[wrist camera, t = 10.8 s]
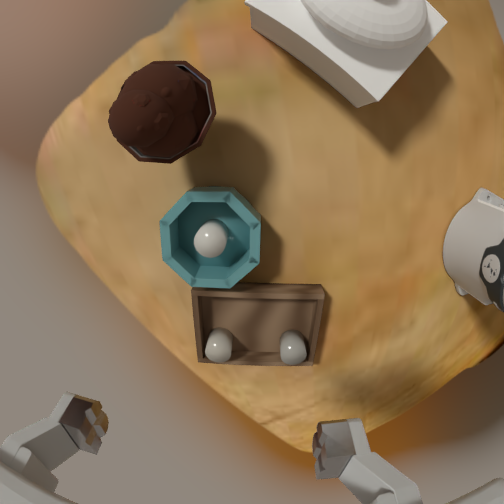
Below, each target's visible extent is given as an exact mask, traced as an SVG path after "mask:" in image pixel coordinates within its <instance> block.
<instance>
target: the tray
mask: <svg viewBox="0 0 504 504" xmlns="http://www.w3.org/2000/svg"><path fill="white" fill-rule="evenodd" d="M191 294H192V306H193V317H194V328H195V338H196V347H197V356H198V362H202V363H216V364H233V365H259V366H312V365H313V360H314V355H315V350H316V344H317V339H318V333H319V328H320V322H321V316H322V309H323V303H324V296H325V293H324V291H323V289H322V286H321V284H276V283H242V282H237V283H236V284H235V285H234V286H232V287H231V288H209V287H192V290H191ZM218 327H222V328H226V329H228V330H229V331H230V332H231V333H232V335H233V343H232V351H231V357H230V358H229V360H227V361H225V362H222V363H218V362H214V361H211V360H210V359H209V358H208V357H207V356H206V354H205V349H206V345H207V341H208V337H209V334H210V332H211V330H213V329H214V328H218ZM292 329H293V330H298V331H300V332H301V333H302V334H303V338H304V343H305V348H306V353H307V355H306V358H305V359H304V361H302V362H301V363H299V364H295V365H289V364H286V363H284V362H283V361H282V359H281V354H280V342H279V338H280V336H281V334H282V333H283V332H285V331H287V330H292Z"/></svg>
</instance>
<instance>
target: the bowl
mask: <svg viewBox="0 0 504 504" xmlns="http://www.w3.org/2000/svg"><path fill="white" fill-rule="evenodd" d="M210 219H218V220H221V221H222V222H224V223H225V224H226V226H227V227H228V230H229V236H228V240H227V243H226V246H225V249H224V251H223V252H222V253H221V254H220V255H219V256H217V257H213V258H208V257H204V256H202V255H201V254H200V253H199V252H198V251H197V250H196V248H195V245H194V238H195V235H196V233H197V232H198V231H199V229H200V228H201V226H202V225H203V224H204V223H205V222H206V221H207V220H210ZM260 229H261V215H260V214H259V213H258V212H257V211H256V210H255V209H254V208H253V206H252V205H251V204H250V203H249V201H248V200H247V199H246V198H245V197H243V196H242V195H241V194H240V193H239V192H238V191H237V190H236V189H235V188H234V187H221V186H208V187H193V188H192V189H190V190H189V191H187V192H186V193H185V194H184V195H183V196H182V197H181V198H180V199H179V201H178V202H177V203H176V204H175V205H174V206H173V207H172V208H171V209H170V210H169V211H168V212H167V214H166V215H165V216H164V217H163V218H162V219H161V220H160V234H161V247H162V258H163V261H164V262H165V263H166V264H167V265H169V266H170V267H171V268H172V269H173V270H174V271H175V272H176V273H177V274H178V275H179V276H180V277H181V278H182V279H184V280H185V281H186V282H187V283H188V284H189V285H190V286H191V287H209V288H231V287H232V286H234V285H235V284H236V283H237V282H238V281H239V280H241V279H242V278H243V277H244V276H245V275H246V274H248V273H249V272H250V271H251V270H252V269H253V268H255V267H256V266H257V265H258V264H259V260H260Z"/></svg>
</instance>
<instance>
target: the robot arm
mask: <svg viewBox="0 0 504 504" xmlns="http://www.w3.org/2000/svg"><path fill="white" fill-rule="evenodd" d="M443 261H444V266H445V269H446V271H447V273H448V274H449V276H450V277H451V278H452V279H453V280H454V282H455V287H456V291H457V293H459V294H460V295H466V294H470V295H472V296H473V297H474V298H476V299H477V300H479V301H480V302H481V303H483V304H484V305H488V304H494V305H495V306H496V307H497V308H498V309H499V310H501V311H502V312H504V200H503V199H502V198H500V197H498V196H497V195H495V194H493V193H492V192H490V191H488V190H487V189H485V188H480V189H479V190H478V191H477V193H476V194H475V196H474V197H473V199H472V200H471V201H470V202H469V203H468V204H466V205H465V206H464V207H463V208H461V209H460V210H459V211H458V213H457V214H456V215H455V217H454V218H453V220H452V222H451V223H450V225H449V228H448V230H447V233H446V236H445V240H444V246H443ZM101 408H102V405H101V403H100V402H99V401H96V400H93V399H89V398H86V397H82V396H79V395H76V394H73V393H70V392H66V393H64V395H63V396H62V398H61V399H60V401H59V402H58V404H57V405H56V407H55V409H54V410H53V412H52V413H51V415H50V417H49V418H44V419H42V420H40V421H38V422H36V423H34V424H32V425H30V426H28V427H26V428H24V429H22V430H20V431H18V432H16V433H14V434H12V435H10V436H8V437H7V438H6V440H5V441H4V443H3V445H2V446H1V448H0V504H78V503H75V502H73V501H70V500H69V499H66V498H64V497H62V496H60V495H58V494H56V493H54V491H55V489H56V487H57V484H58V479H57V478H56V477H55V476H54V475H53V474H52V473H51V471H52V470H53V469H55V468H56V467H57V466H59V465H60V464H62V463H63V462H64V461H66V460H67V459H68V458H70V457H71V456H72V455H74V454H75V453H76V452H78V451H79V449H81V450H84V451H87V452H90V453H93V454H97V453H98V450H99V448H100V446H101V444H102V442H101V438H100V437H102V436H103V435H105V434H106V432H107V429H108V423H109V422H108V417H107V415H106V414H105V413H104V412H103V411H102V410H101ZM312 447H313V456H314V457H316V459H317V460H316V463H315V472H316V479H328V478H337V477H339V479H340V480H341V481H342V483H343V484H344V485H345V486H346V487H347V488H348V489H349V490H350V491H351V492H352V493H353V494H354V495H355V496H356V498H357V499H358V500H359V501H360V502H361V503H362V504H423V503H422V499H421V496H420V493H419V490H418V487H417V484H416V483H414V482H413V481H412V480H410V479H409V478H408V477H406V476H405V475H404V474H402V473H401V472H400V471H398V470H397V469H396V468H395V467H393V466H392V465H391V464H389V463H388V462H387V461H385V460H384V459H383V458H382V457H380V456H379V455H378V454H377V453H375V452H371V451H370V447H369V443H368V440H367V437H366V433H365V430H364V427H363V424H362V420H361V419H360V418H353V419H342V420H332V421H321V422H319V423H318V425H317V432H316V433H315V434H314V437H313V444H312ZM446 504H504V479H503V478H496V479H494V480H492V481H490V482H488V483H486V484H485V485H483V486H481V487H479V488H477V489H475V490H474V491H471V492H470V493H468V494H465V495H463V496H461V497H459V498H457V499H455V500H453V501H451V502H448V503H446Z"/></svg>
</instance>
